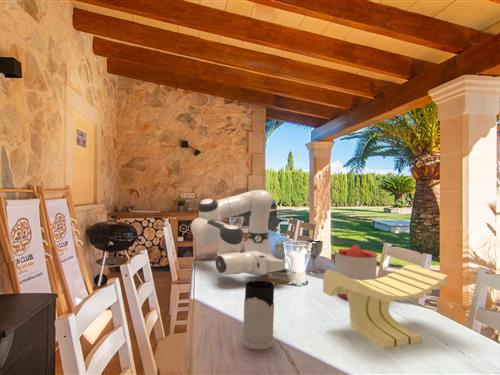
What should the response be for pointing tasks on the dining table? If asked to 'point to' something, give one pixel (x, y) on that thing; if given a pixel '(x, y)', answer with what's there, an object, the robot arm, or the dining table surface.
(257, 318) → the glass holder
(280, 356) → the dining table surface
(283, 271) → the pipe elbow
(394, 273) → the slatted curved stool
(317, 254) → the wine glass
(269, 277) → the collar plate
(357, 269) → the citrus juicer
